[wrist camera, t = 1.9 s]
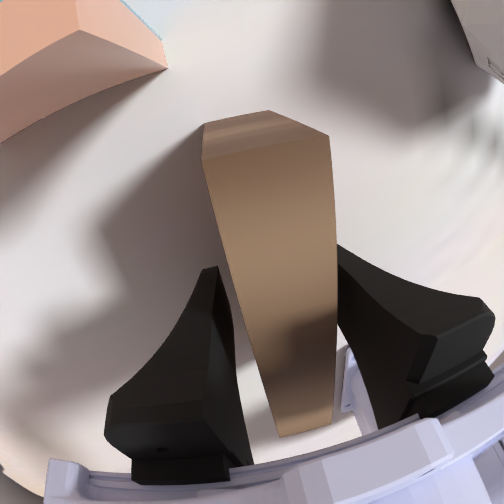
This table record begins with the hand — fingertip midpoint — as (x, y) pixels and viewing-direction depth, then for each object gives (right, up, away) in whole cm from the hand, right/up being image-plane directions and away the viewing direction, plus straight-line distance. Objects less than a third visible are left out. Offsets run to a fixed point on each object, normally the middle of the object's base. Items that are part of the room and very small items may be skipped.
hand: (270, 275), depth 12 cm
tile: (-8, +7, -4) cm, 11 cm away
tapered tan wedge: (0, +1, +2) cm, 2 cm away
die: (+10, +13, -4) cm, 17 cm away
